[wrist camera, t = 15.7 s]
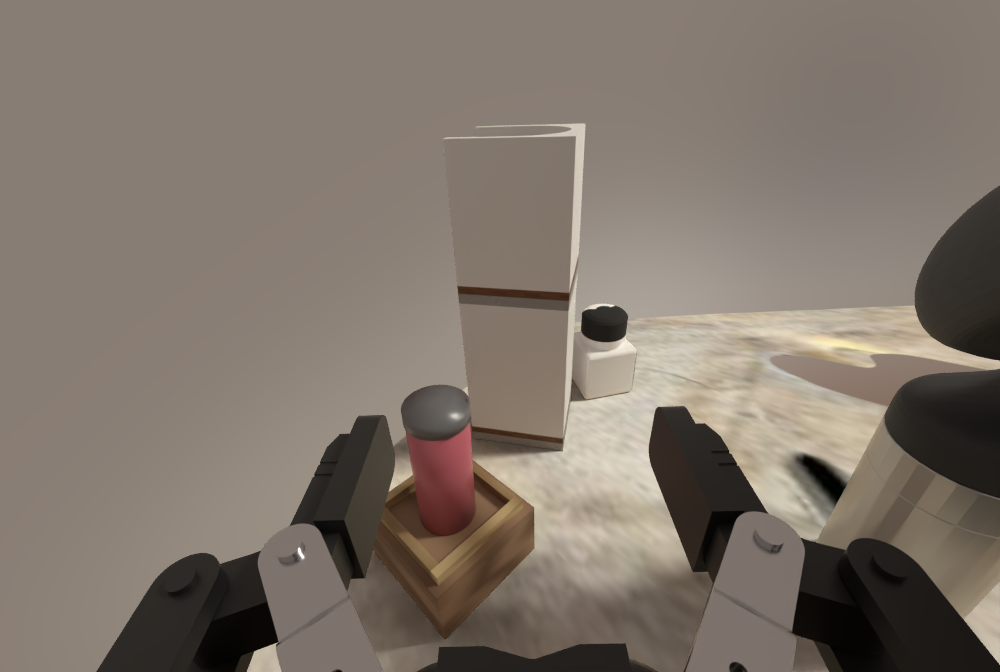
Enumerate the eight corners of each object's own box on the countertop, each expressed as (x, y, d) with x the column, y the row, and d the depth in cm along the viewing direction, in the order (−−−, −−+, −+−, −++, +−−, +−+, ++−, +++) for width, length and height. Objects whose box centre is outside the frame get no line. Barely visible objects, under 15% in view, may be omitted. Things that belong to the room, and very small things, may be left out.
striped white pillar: (571, 396, 61) (585, 123, 44) (562, 450, 53) (576, 136, 35) (493, 387, 64) (476, 126, 46) (472, 438, 55) (442, 138, 37)
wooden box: (460, 485, 49) (454, 439, 45) (534, 548, 42) (533, 500, 38) (374, 552, 42) (359, 505, 39) (445, 639, 35) (435, 591, 32)
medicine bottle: (632, 392, 62) (642, 318, 56) (585, 401, 60) (590, 326, 54) (610, 364, 68) (617, 295, 62) (567, 372, 66) (570, 302, 60)
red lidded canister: (450, 478, 42) (440, 377, 36) (488, 508, 39) (484, 403, 33) (406, 511, 39) (387, 406, 33) (444, 547, 36) (430, 439, 30)
